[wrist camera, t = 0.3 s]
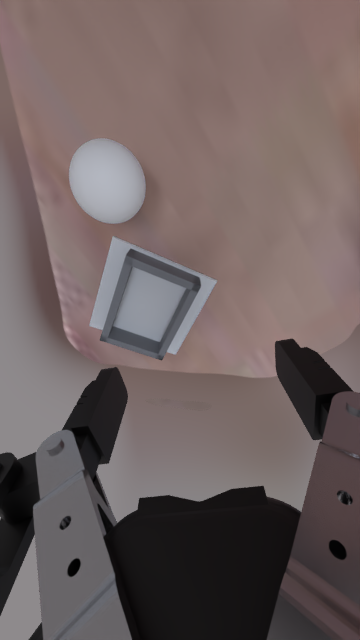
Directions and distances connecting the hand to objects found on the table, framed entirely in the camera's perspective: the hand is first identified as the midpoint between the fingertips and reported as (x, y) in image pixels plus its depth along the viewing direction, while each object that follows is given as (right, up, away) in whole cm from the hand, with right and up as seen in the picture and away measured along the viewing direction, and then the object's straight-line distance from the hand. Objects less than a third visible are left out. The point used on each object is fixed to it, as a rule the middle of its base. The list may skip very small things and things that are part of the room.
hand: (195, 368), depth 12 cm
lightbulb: (-7, +18, +14) cm, 24 cm away
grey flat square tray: (-5, +5, +23) cm, 24 cm away
